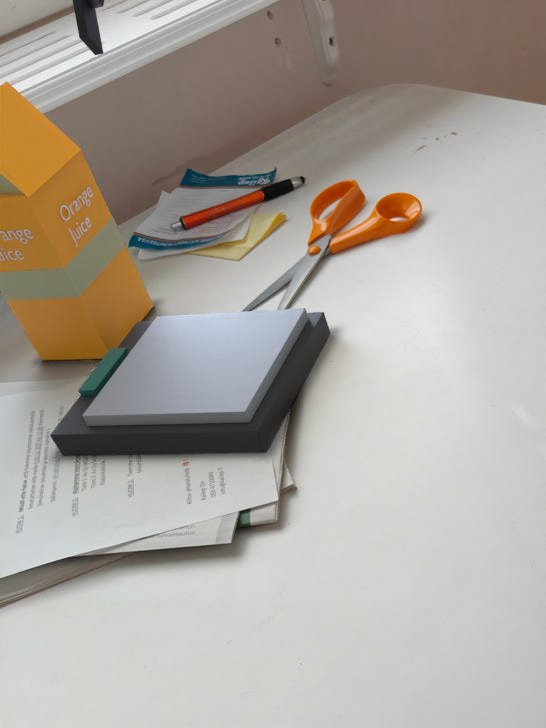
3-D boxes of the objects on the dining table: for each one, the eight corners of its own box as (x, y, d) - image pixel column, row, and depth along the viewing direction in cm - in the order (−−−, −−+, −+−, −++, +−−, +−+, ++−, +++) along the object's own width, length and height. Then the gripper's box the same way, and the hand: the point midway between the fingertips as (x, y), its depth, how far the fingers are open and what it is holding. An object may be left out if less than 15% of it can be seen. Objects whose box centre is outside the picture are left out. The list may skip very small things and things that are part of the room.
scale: (62, 455, 76) (42, 424, 74) (146, 341, 86) (131, 311, 84) (266, 452, 71) (252, 419, 69) (330, 332, 81) (320, 300, 79)
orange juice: (40, 360, 87) (-96, 131, 73) (86, 308, 93) (-32, 85, 78) (113, 358, 85) (-12, 122, 70) (156, 305, 91) (48, 75, 76)
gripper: (129, -195, 83) (173, 55, 84) (-137, -126, 85) (-90, 116, 86) (86, -271, 75) (135, 4, 76) (-204, -194, 78) (-152, 72, 79)
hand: (16, 64), depth 81 cm, fingers open, 13 cm apart
